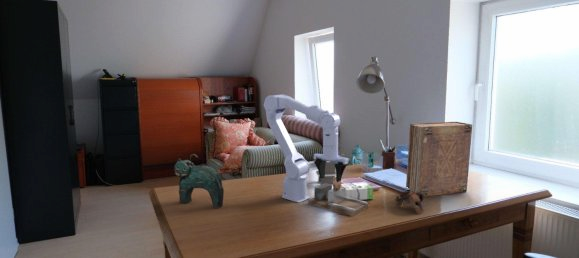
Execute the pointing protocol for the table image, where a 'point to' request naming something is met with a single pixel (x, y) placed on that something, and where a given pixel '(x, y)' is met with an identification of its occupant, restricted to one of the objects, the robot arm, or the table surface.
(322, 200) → the base
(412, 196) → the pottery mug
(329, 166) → the architectural model
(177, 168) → the ceramic cat
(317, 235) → the table surface
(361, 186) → the ink box
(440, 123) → the book
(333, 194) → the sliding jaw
